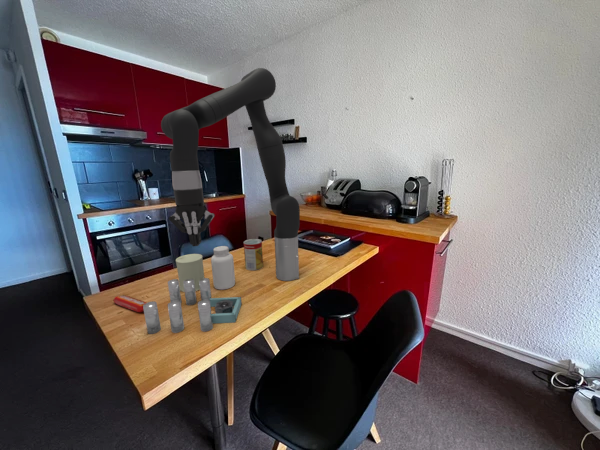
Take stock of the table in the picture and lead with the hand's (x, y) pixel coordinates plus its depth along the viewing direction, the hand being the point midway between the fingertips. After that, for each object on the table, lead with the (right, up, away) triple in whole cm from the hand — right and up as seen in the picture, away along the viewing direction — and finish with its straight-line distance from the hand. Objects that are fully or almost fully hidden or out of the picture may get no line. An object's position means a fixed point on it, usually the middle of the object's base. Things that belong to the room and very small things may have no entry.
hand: (196, 245), depth 75 cm
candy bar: (-24, -21, +7) cm, 33 cm away
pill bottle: (+2, -17, +21) cm, 27 cm away
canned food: (+11, -13, +38) cm, 41 cm away
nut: (+8, -21, +3) cm, 23 cm away
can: (-10, -17, +20) cm, 28 cm away
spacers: (-3, -21, +2) cm, 22 cm away
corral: (+7, -21, +2) cm, 23 cm away
